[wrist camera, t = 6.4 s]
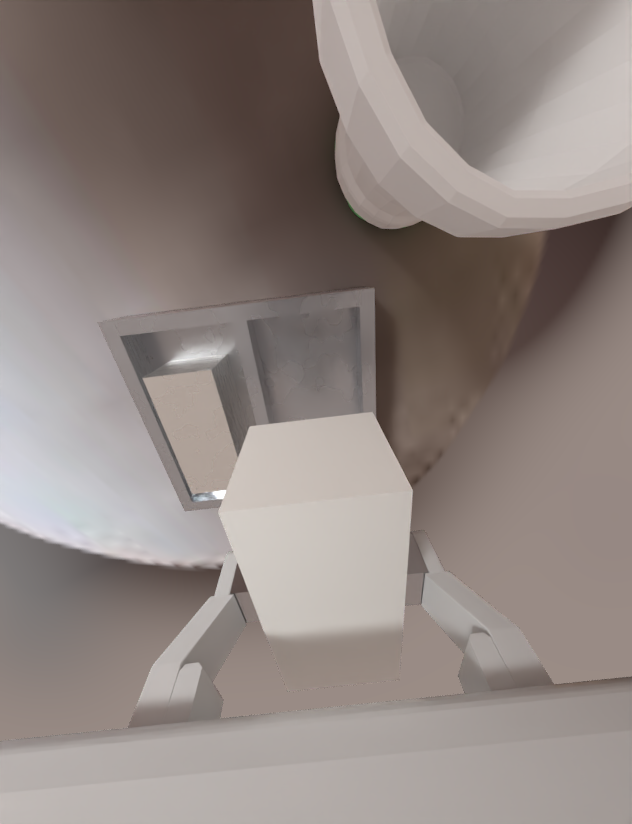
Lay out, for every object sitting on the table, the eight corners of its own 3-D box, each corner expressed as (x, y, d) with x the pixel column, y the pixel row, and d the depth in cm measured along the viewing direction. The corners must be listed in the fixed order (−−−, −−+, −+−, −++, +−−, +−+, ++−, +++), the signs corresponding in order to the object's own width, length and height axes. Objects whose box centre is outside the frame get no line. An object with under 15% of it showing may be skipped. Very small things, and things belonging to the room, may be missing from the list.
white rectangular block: (249, 426, 10) (218, 512, 6) (372, 412, 10) (413, 490, 6) (291, 587, 14) (287, 691, 11) (375, 578, 14) (399, 680, 11)
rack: (125, 316, 20) (76, 326, 16) (365, 286, 20) (382, 288, 15) (197, 490, 28) (177, 529, 23) (369, 471, 27) (382, 506, 23)
